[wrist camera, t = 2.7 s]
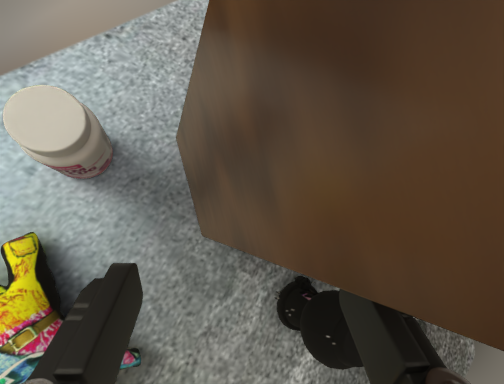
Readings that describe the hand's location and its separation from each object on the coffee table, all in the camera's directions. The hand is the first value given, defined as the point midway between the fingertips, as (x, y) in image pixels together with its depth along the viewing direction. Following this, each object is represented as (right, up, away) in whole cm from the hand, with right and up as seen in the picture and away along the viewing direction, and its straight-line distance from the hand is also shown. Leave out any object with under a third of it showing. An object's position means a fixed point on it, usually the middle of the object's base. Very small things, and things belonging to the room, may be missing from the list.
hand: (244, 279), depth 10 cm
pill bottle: (-14, +7, +13) cm, 21 cm away
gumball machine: (+5, -9, +18) cm, 21 cm away
